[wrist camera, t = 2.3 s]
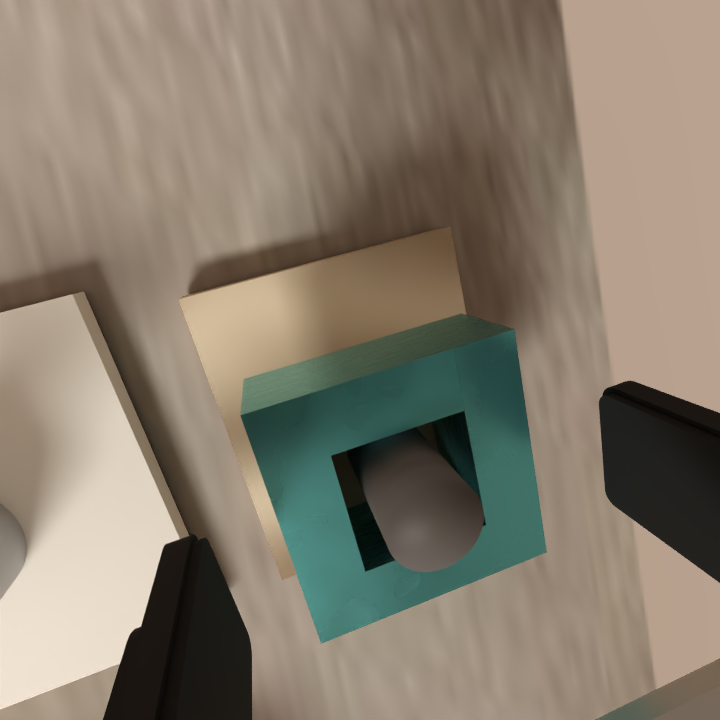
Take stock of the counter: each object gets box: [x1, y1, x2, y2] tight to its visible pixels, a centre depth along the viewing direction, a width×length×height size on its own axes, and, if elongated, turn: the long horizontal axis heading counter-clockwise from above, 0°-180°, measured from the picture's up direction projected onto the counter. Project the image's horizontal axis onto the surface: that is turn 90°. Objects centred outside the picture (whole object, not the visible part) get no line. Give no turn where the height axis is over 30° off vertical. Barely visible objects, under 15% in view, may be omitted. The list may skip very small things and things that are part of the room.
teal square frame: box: [240, 313, 547, 643], centre depth 13 cm, size 7×7×3 cm
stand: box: [179, 227, 484, 580], centre depth 14 cm, size 12×10×8 cm
